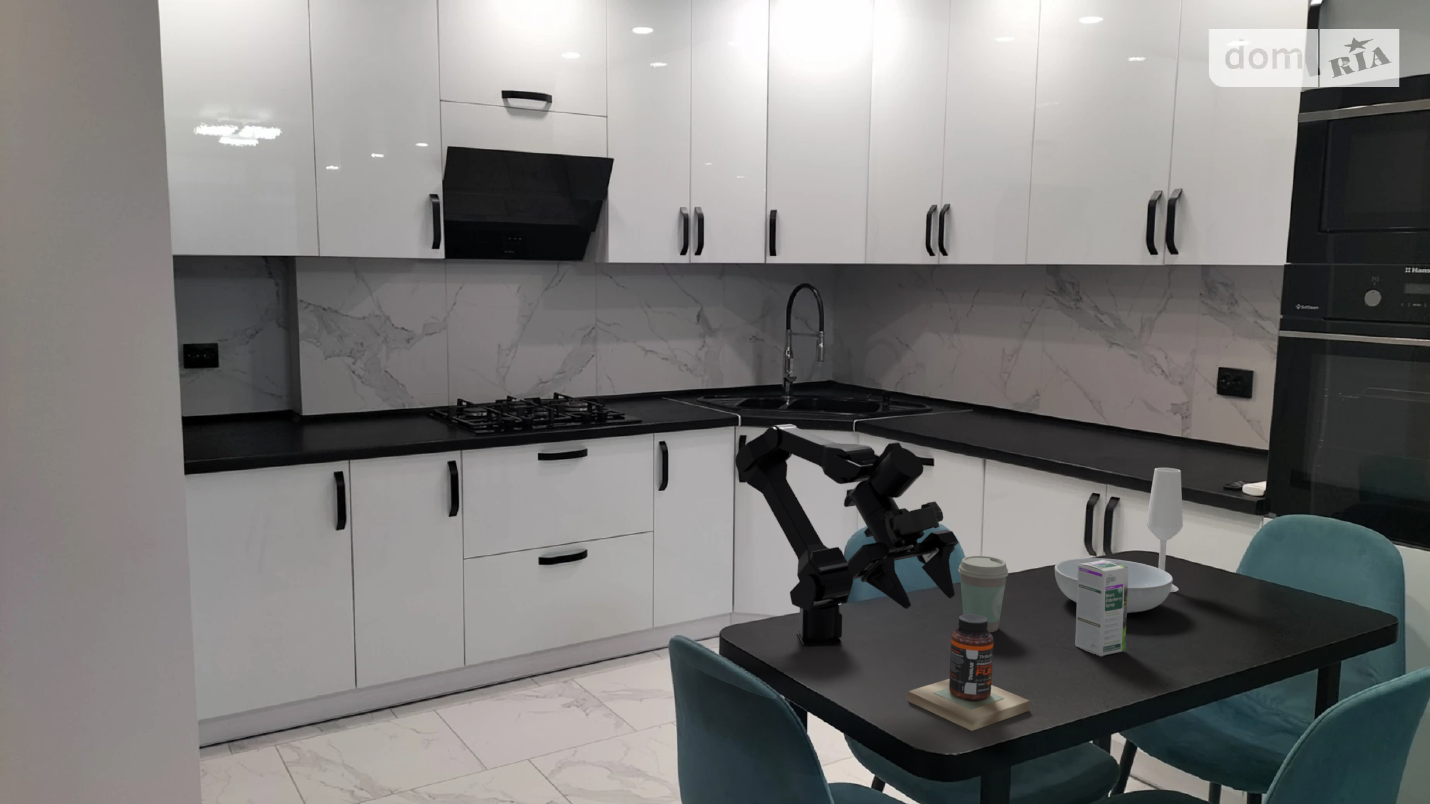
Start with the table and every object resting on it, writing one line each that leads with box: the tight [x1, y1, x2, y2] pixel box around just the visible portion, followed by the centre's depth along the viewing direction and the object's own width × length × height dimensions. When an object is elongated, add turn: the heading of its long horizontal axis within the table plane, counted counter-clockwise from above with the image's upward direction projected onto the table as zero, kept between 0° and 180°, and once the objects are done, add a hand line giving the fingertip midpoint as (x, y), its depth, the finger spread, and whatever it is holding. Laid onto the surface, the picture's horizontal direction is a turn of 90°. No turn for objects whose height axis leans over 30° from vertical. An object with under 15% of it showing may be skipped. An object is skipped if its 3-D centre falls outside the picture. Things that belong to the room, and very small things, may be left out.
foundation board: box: [907, 678, 1031, 732], centre depth 148 cm, size 12×12×2 cm
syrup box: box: [1074, 560, 1128, 657], centre depth 171 cm, size 6×6×14 cm
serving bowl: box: [1054, 557, 1174, 614], centre depth 194 cm, size 21×21×7 cm
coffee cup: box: [958, 555, 1009, 633], centre depth 181 cm, size 8×8×12 cm
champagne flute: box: [1145, 467, 1184, 593], centre depth 206 cm, size 7×7×24 cm
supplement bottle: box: [948, 614, 994, 700], centre depth 147 cm, size 6×6×11 cm
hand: (930, 602), depth 153 cm, fingers open, 9 cm apart
